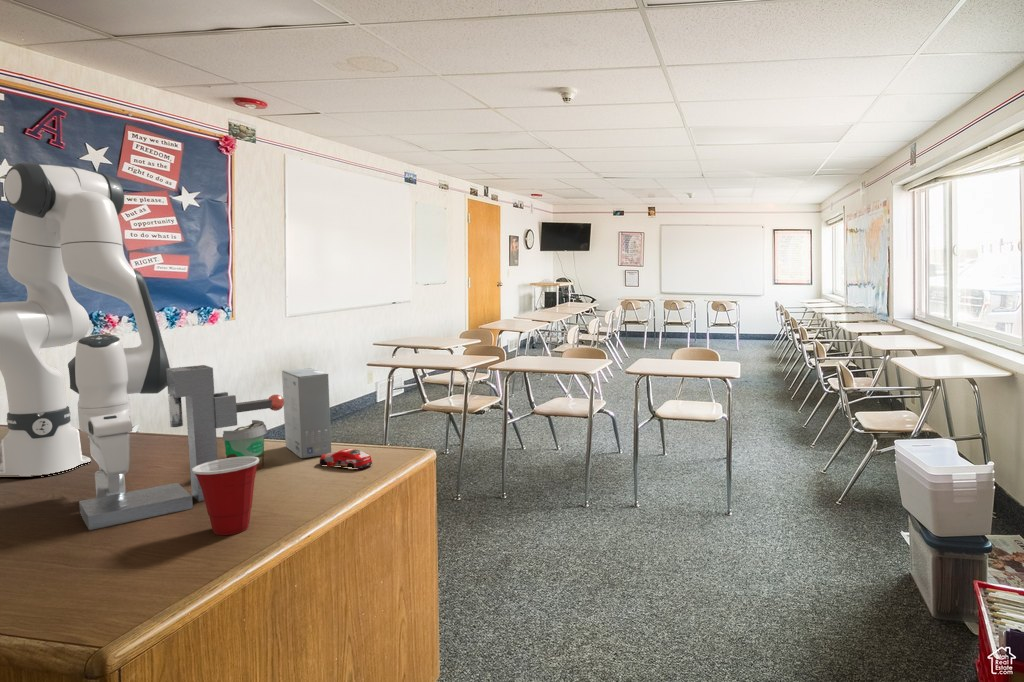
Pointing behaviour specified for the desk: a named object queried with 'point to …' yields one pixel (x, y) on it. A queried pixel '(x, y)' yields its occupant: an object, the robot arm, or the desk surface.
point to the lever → (261, 404)
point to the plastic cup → (228, 492)
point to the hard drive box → (307, 412)
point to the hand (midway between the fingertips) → (110, 487)
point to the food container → (246, 442)
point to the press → (201, 424)
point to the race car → (346, 459)
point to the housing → (102, 484)
